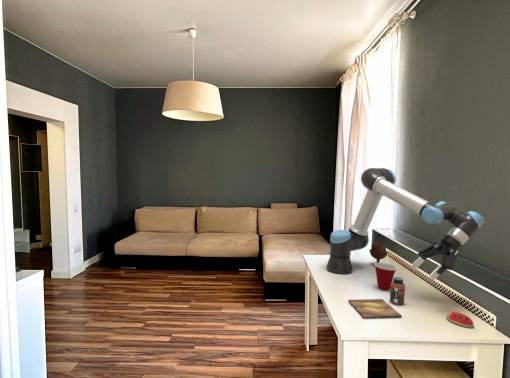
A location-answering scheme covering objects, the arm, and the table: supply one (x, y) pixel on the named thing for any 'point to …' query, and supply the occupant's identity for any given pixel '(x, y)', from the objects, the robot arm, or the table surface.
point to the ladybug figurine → (460, 319)
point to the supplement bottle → (397, 291)
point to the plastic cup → (384, 275)
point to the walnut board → (374, 309)
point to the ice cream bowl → (378, 251)
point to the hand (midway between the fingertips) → (421, 273)
